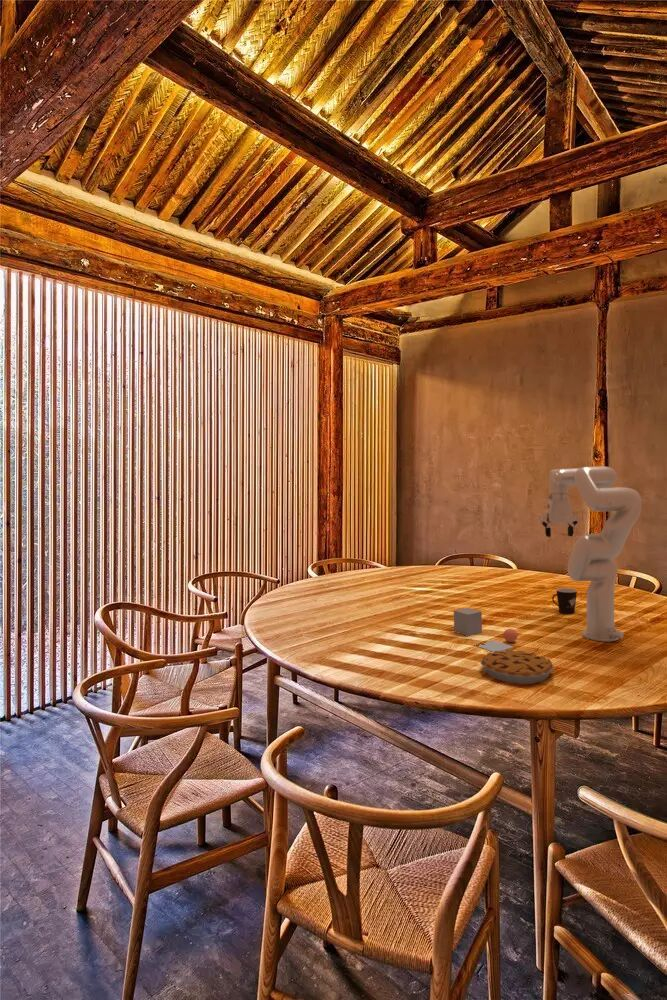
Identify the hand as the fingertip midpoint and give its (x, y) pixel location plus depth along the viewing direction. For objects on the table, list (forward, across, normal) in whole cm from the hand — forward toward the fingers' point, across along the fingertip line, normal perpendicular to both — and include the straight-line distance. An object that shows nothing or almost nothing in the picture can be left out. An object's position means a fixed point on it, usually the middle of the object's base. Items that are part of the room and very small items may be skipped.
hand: (559, 536), depth 236 cm
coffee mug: (+36, +4, +7) cm, 37 cm away
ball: (+33, -34, -33) cm, 58 cm away
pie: (+36, -42, -64) cm, 85 cm away
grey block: (+36, -46, -20) cm, 62 cm away
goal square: (+36, -42, -38) cm, 66 cm away
